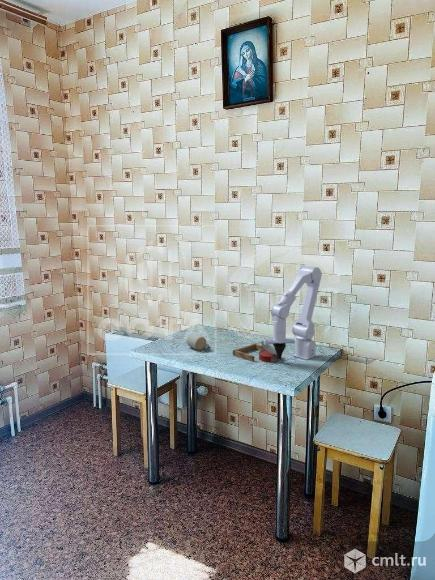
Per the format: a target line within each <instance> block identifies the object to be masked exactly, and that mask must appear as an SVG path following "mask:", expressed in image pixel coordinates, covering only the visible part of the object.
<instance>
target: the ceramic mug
mask: <svg viewBox="0 0 435 580" xmlns="http://www.w3.org/2000/svg"><path fill="white" fill-rule="evenodd" d="M186 343H187V346H188V347H189V348H191V349H195V350H198V351H202V350H204V349H205V347H207V348H209V343H208V342H207V339H206V338H205V337H204V336H202V335H200V334H198V333H196V332H192V333H190V334H189V335H188V337H187V338H186Z"/></svg>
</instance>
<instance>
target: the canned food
mask: <svg viewBox="0 0 435 580" xmlns="http://www.w3.org/2000/svg"><path fill="white" fill-rule="evenodd" d="M261 345H262V346H263V347H264V348H265V349H266V350H262V351H260V350H259V351H258V360H259V361H260V362H264V363H277V362H279V361H280V359H278V358H277V354H276V350H275V348H274V346H271V344H267V345H264V340H261Z"/></svg>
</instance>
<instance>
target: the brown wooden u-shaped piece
mask: <svg viewBox="0 0 435 580" xmlns="http://www.w3.org/2000/svg"><path fill="white" fill-rule="evenodd" d="M254 350H257V351H259V352H260V351H262V350H266V349H265V348H264V347H263V346H262V344H259V343H252V344H250V345H246V346H243V347H240V348H236V349H233V350H232V356H234V357H236V358H237V357H238V358H241V359H244V360H247V361H248V362H255V355H252V354H249V353H248V352H251V351H254Z"/></svg>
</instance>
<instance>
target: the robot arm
mask: <svg viewBox="0 0 435 580" xmlns="http://www.w3.org/2000/svg"><path fill="white" fill-rule="evenodd" d="M322 275H323V273H322V270H321V269H320V267H315V266H307V265H301V266H299V268H298V270H297V272H296V277H295V280H294V281H293V283H292V285H291V287H290V289H289V290H288V291H285V292H284V293H283V294H282V297H281V298H280V300H279V301H278V302H277V304H276V305H275V304H274V306H273V307H272V308H271V310H270V314H271V317H272V320H273V325H272V326H273V331H272V332H273V333H272V334H273V336H272V337H273V338H268V339H263V341H264V345H267V344H268V345H273V348H274V349H275V350H276V354H277V358H278V359H279V360H282V356H283V353H284V351H285V349H286V347H287V344H293V345H295V347H294V349H295V350H294V352H295V353H292V354H291V356H293V357H295V358H296V357H297V358H299V359H303V360H306V361H307V360H310V359H312V358H315V357H317V354H316V350H317V349H316V348H317V347H316V346H317V344H316V342H315V340H313V338H314V336H315V325H316V324H315V323H314V322H313V321H312V320H313V319H312V318H313V314H314V310H315V305H316V302H317V297H318V294H319V293H318V292H319V289H320V283H321V279H322ZM304 284H305V285H306V288H307V289H306V291H305V296H304V301H303V304H302V308H301V313H300V317H299V318H297V319H296V320H295V322H294V324H293V326H292V328H291V331H292V334H293V335H294V338H290V337H289V338H288V337H286V336H287V335H286V333H287V330H286V329H287V318H288V317H289V315H290V310H291V307H292V305H293V304H294V302H295V300H296V299H297V298H296V294H297V293H298V292H299V291H300V290H301V288H302V287H303V285H304Z"/></svg>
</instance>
